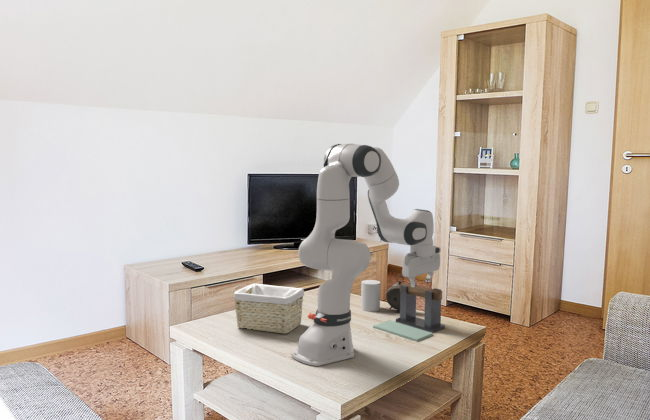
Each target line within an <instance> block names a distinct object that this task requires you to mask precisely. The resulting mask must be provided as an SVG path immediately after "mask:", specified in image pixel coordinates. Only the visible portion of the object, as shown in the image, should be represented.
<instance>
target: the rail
mask: <svg viewBox="0 0 650 420" xmlns="http://www.w3.org/2000/svg"><path fill="white" fill-rule="evenodd" d="M401 283H402V282H401ZM400 285H404V286H408V294H411V295H415V296H416V297H420V298H424V299H425V291H430V292H433V300H436V301H439V300H441V301H442V300H443V291H442V290H441V291H439V290H435V289H434V288H429V287H425V286H420V285H417V286H416V287H411V284H409V283H408V282H403V283H402V284H400Z"/></svg>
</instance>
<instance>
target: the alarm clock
mask: <svg viewBox="0 0 650 420" xmlns="http://www.w3.org/2000/svg"><path fill="white" fill-rule="evenodd" d="M398 276H400V277H402V280H398V278H397V277H398ZM404 278H405V277H404V276H403V275H402V274H397V275H396V276H395V280H396V281H397V283H394V284H392V285H391V286H390V287H389V288H388V289H387V292H386V295H385V296H386V302H387V304H388V305H389V310H391V309H393V310H395V311H396V313H397V314H398V313H399V311H400V284H402V282H403V281H404V280H405V279H404Z"/></svg>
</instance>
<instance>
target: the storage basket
mask: <svg viewBox="0 0 650 420" xmlns="http://www.w3.org/2000/svg"><path fill="white" fill-rule="evenodd" d="M233 293H234V294H233V299H234V301H235V303H234V304H235V313H236V317H235V318H236V325H237V328H238V327H239V328H240V329H242V328H247V329H246V330H251V329H253V330H252V331H261V332H265V331H266V332H267V333H277V334H288V333H290V332H292V331H293V330H294V329H296V328H297V327H298V326H300V324H301V323H302V315H303V302H304V296H305V290H304V288H301V287H293V286H281V285H279V286H278V285H270V284H262V283H255V282H253V283H251V284H249V285H246V286H244V287H242V288H239V289H238V290H236V291H234V292H233ZM239 328H238V329H239Z"/></svg>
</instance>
